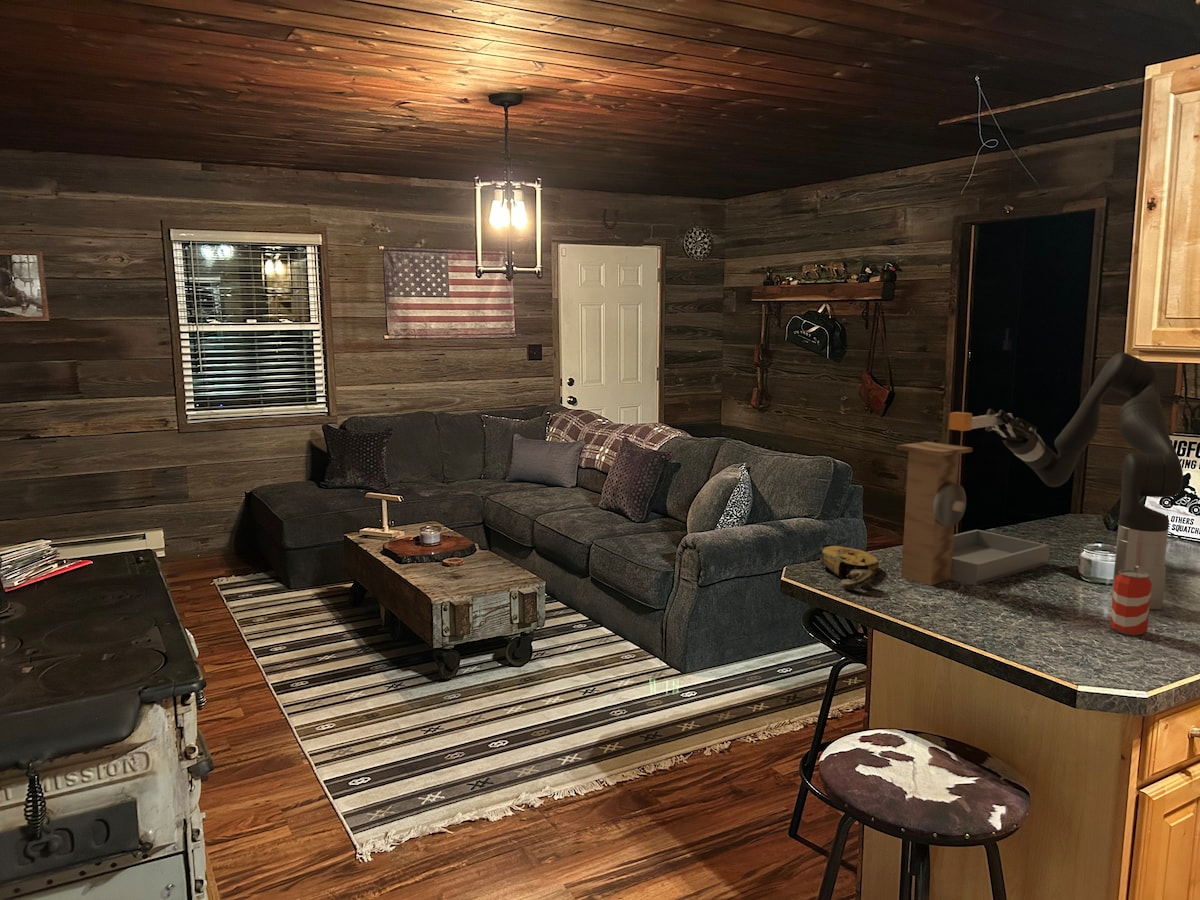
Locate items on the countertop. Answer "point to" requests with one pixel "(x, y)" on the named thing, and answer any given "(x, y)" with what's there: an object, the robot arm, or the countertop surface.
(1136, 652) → the countertop surface
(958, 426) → the pin
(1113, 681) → the countertop surface
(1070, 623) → the countertop surface
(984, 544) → the tray
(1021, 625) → the countertop surface
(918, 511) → the bracket
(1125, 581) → the beverage can
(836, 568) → the pulley block
